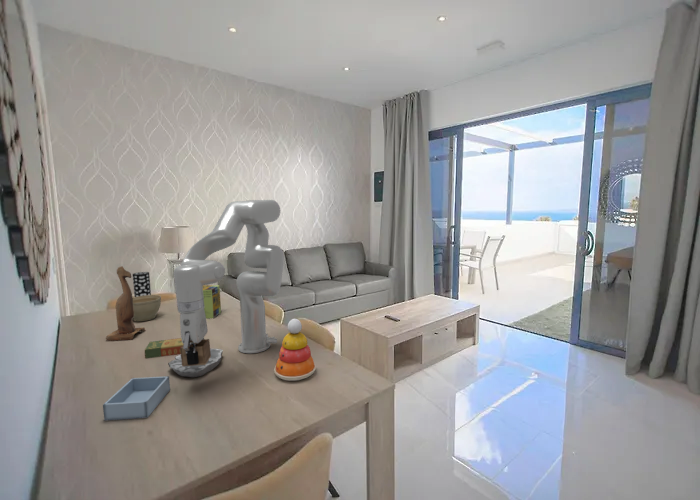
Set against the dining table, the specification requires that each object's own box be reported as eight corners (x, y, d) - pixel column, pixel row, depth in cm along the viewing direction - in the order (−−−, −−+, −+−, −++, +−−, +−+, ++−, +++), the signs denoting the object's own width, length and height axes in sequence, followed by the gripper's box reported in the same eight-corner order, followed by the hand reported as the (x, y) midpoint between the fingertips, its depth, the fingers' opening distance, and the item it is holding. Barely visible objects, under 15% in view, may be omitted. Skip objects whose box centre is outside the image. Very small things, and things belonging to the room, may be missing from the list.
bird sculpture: (134, 340, 148) (131, 268, 145) (105, 341, 147) (101, 268, 143) (145, 331, 159) (142, 264, 156) (118, 332, 158) (114, 264, 154)
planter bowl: (153, 312, 188) (152, 293, 187) (168, 317, 179) (166, 297, 178) (121, 320, 176) (119, 299, 174) (134, 326, 166) (132, 304, 165)
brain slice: (186, 355, 132) (186, 348, 132) (229, 355, 132) (229, 348, 132) (156, 380, 113) (156, 372, 113) (206, 381, 112) (206, 372, 112)
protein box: (213, 318, 177) (212, 289, 175) (184, 318, 177) (182, 289, 175) (221, 312, 187) (220, 285, 185) (193, 312, 187) (192, 285, 186)
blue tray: (170, 389, 107) (169, 376, 106) (147, 417, 92) (146, 402, 92) (133, 391, 106) (131, 378, 105) (104, 420, 91) (102, 404, 91)
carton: (190, 353, 134) (190, 343, 134) (144, 359, 129) (143, 349, 129) (193, 345, 142) (192, 335, 142) (150, 351, 137) (149, 340, 137)
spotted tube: (131, 308, 196) (128, 274, 194) (142, 304, 205) (140, 271, 202) (144, 309, 195) (141, 274, 193) (155, 305, 203) (152, 272, 201)
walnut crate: (210, 356, 111) (209, 339, 110) (205, 364, 106) (203, 346, 105) (188, 357, 111) (186, 340, 110) (182, 366, 105) (180, 348, 104)
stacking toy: (270, 368, 121) (268, 315, 118) (309, 360, 126) (308, 310, 124) (278, 387, 108) (276, 327, 105) (321, 378, 113) (320, 321, 111)
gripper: (193, 313, 97) (199, 372, 100) (211, 295, 114) (216, 346, 117) (166, 315, 96) (173, 374, 99) (188, 297, 113) (194, 348, 116)
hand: (196, 358), depth 108 cm, fingers closed on walnut crate, 5 cm apart
